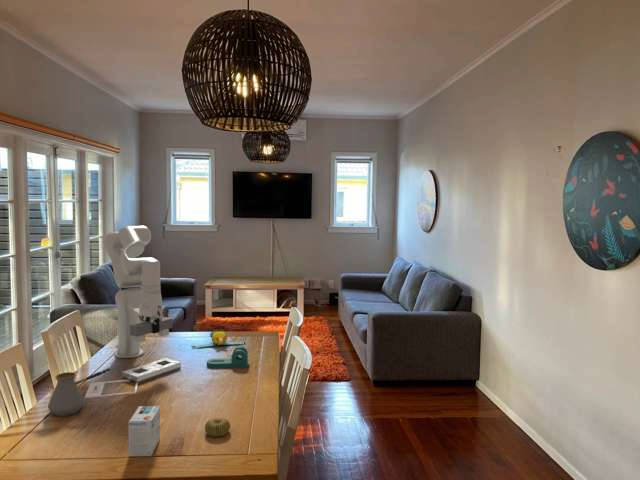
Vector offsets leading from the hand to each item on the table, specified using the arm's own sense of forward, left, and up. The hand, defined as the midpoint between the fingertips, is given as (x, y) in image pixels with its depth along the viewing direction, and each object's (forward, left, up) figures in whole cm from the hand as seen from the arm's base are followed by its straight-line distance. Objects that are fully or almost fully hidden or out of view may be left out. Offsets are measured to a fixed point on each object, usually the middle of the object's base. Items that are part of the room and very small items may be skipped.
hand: (152, 331), depth 207 cm
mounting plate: (0, 0, -18) cm, 18 cm away
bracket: (+18, +26, -19) cm, 37 cm away
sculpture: (+61, -22, -19) cm, 67 cm away
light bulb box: (+50, -41, -19) cm, 67 cm away
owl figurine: (-8, +47, -19) cm, 51 cm away
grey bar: (0, 0, -3) cm, 3 cm away
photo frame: (+1, -19, -19) cm, 27 cm away
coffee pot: (+10, -37, -19) cm, 43 cm away
